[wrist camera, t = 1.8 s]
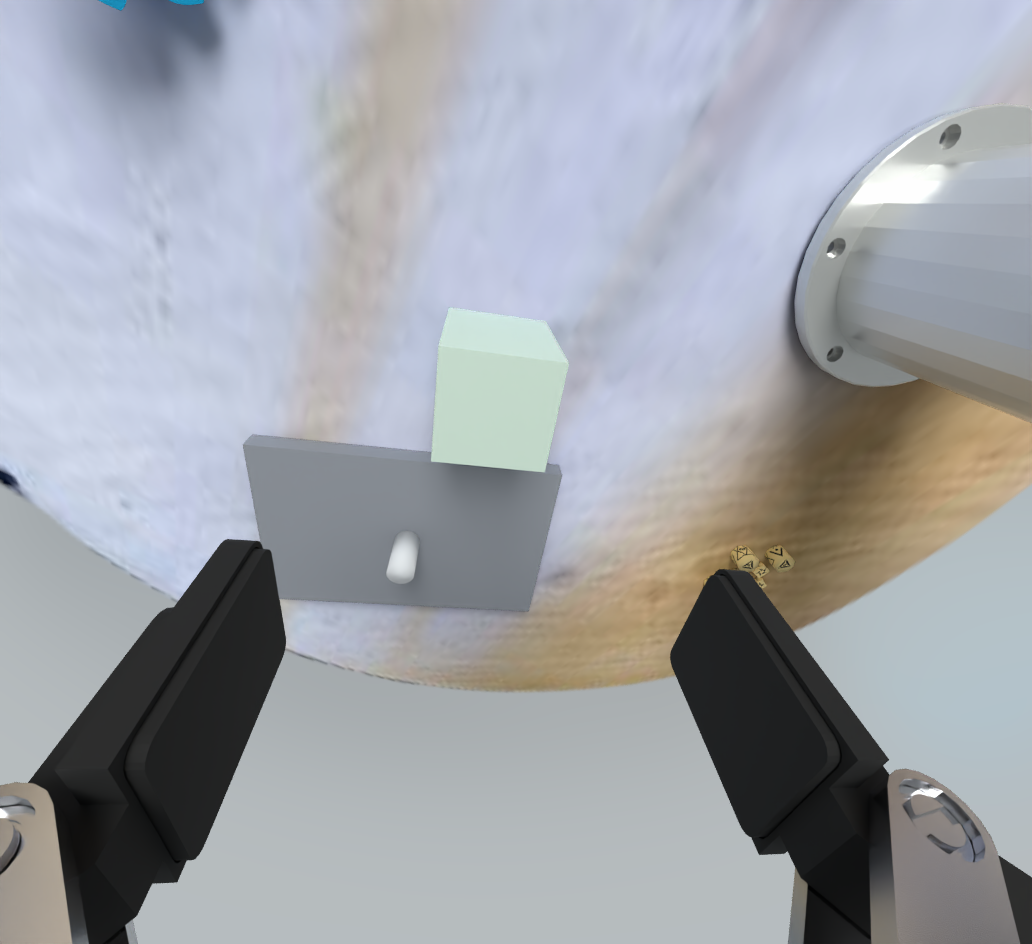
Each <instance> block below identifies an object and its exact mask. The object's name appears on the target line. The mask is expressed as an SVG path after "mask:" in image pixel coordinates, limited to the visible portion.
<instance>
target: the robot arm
mask: <svg viewBox="0 0 1032 944" xmlns="http://www.w3.org/2000/svg"><path fill="white" fill-rule="evenodd" d="M794 302H795V324H796V328H797V331H798V335H799V339H800V342H801V344H802V346H803V348H804V349H805V351H806V353H807V355H808V357H809V358H810V359H811V360H812V361H813V362H814V363H815V364H816V365H817V366H818V367H819V368H820V369H822V370H823V371H825V372H827V373H829V374H831V375H832V376H834V377H836V378H838V379H840V380H843V381H845V382H848V383H850V384H853V385H859V386H866V387H884V386H894V385H899V384H903V383H907V382H911V381H915V380H917V379H923V380H925V381H928V382H930V383H933V384H935V385H938V386H940V387H943V388H945V389H948V390H950V391H952V392H955V393H957V394H960V395H962V396H965V397H967V398H970V399H972V400H975V401H977V402H980V403H982V404H985V405H987V406H990V407H992V408H995V409H997V410H1000V411H1002V412H1005V413H1007V414H1010V415H1012V416H1015V417H1017V418H1020V419H1022V420H1024V421H1027V422H1029V423H1032V108H1031V107H1029V106H1025V105H1015V104H1006V103H999V104H992V105H985V106H978V107H972V108H967V109H963V110H960V111H956V112H952V113H948V114H945V115H941V116H939V117H937V118H935V119H933V120H931V121H928V122H926V123H924V124H922V125H920V126H918V127H916V128H914V129H912V130H911V131H909V132H908V133H906V134H905V135H903V136H902V137H900V138H899V139H897V140H896V141H894V142H893V143H891V144H890V145H888V146H887V147H886V148H884V149H883V150H882V151H881V152H880V153H879V154H878V155H877V156H875V157H874V158H873V159H872V160H871V161H870V162H869V163H868V164H867V165H865V166H864V167H863V168H862V169H861V170H860V171H859V172H858V173H857V174H856V176H855V177H854V178H853V179H852V180H851V181H850V183H849V184H848V185H847V186H846V187H845V188H844V190H843V191H842V192H841V193H840V194H839V195H838V197H837V198H836V200H835V201H834V203H833V204H832V206H831V207H830V209H829V210H828V212H827V213H826V215H825V216H824V218H823V219H822V221H821V222H820V224H819V226H818V228H817V230H816V232H815V234H814V236H813V238H812V240H811V243H810V245H809V247H808V249H807V251H806V254H805V257H804V260H803V263H802V266H801V270H800V273H799V276H798V281H797V288H796V294H795V301H794ZM285 646H286V636H285V630H284V624H283V618H282V612H281V606H280V600H279V594H278V588H277V582H276V576H275V570H274V564H273V558H272V553H271V551H270V550H269V549H263V547H262V544H261V543H260V542H259V541H248V540H232V539H227V540H224V541H223V542H222V543H221V544H220V545H219V547H218V548H217V550H216V551H215V552H214V554H213V555H212V556H211V558H210V559H209V560H208V562H207V563H206V564H205V566H204V567H203V569H202V570H201V571H200V573H199V574H198V575H197V577H196V578H195V579H194V581H193V582H192V583H191V585H190V586H189V588H188V589H187V590H186V592H185V593H184V594H183V596H182V597H181V598H180V600H179V601H178V602H177V604H176V605H175V607H173V608H166V609H165V610H163V611H161V612H160V613H159V614H158V615H157V616H156V617H155V618H154V619H153V620H152V622H151V623H150V624H149V625H148V627H147V628H146V629H145V631H144V632H143V633H142V635H141V636H140V637H139V639H138V640H137V641H136V643H135V644H134V645H133V646H132V648H131V649H130V650H129V652H128V653H127V654H126V655H125V657H124V658H123V660H122V661H121V662H120V663H119V665H118V666H117V667H116V669H115V670H114V671H113V673H112V674H111V675H110V676H109V678H108V679H107V680H106V682H105V683H104V684H103V685H102V687H101V688H100V690H99V691H98V692H97V693H96V695H95V696H94V697H93V699H92V700H91V701H90V702H89V704H88V705H87V706H86V708H85V709H84V710H83V712H82V713H81V714H80V716H79V717H78V718H77V720H76V721H75V722H74V723H73V725H72V726H71V727H70V729H69V730H68V731H67V733H66V734H65V735H64V737H63V738H62V739H61V740H60V742H59V743H58V744H57V746H56V747H55V748H54V749H53V751H52V752H51V753H50V755H49V756H48V758H47V759H46V760H45V761H44V763H43V764H42V765H41V766H40V768H39V769H38V770H37V772H36V773H35V774H34V776H33V777H32V778H31V780H30V781H29V782H28V783H18V782H14V783H10V784H5V785H0V944H138V942H137V937H136V933H135V928H134V923H133V919H134V918H135V917H136V916H137V915H138V912H139V910H140V908H141V906H142V904H143V902H144V900H145V898H146V895H147V893H148V891H149V889H150V887H151V885H152V883H174V882H178V879H179V877H180V875H181V872H182V870H183V868H184V865H185V863H186V861H187V860H194V859H196V857H197V856H198V855H199V854H200V852H201V850H202V849H203V847H204V844H205V842H206V840H207V838H208V835H209V833H210V830H211V828H212V826H213V823H214V821H215V818H216V816H217V813H218V811H219V809H220V806H221V804H222V802H223V799H224V797H225V794H226V792H227V790H228V787H229V785H230V782H231V780H232V778H233V775H234V773H235V770H236V768H237V766H238V763H239V761H240V758H241V756H242V753H243V751H244V749H245V746H246V744H247V742H248V739H249V737H250V734H251V732H252V730H253V727H254V725H255V722H256V720H257V718H258V715H259V713H260V710H261V708H262V706H263V703H264V701H265V698H266V696H267V694H268V691H269V689H270V687H271V684H272V681H273V679H274V677H275V675H276V672H277V669H278V667H279V665H280V663H281V660H282V658H283V655H284V651H285ZM670 660H671V665H672V668H673V670H674V672H675V675H676V677H677V679H678V682H679V684H680V686H681V689H682V691H683V693H684V696H685V698H686V700H687V702H688V705H689V707H690V710H691V712H692V714H693V716H694V719H695V721H696V724H697V726H698V728H699V730H700V733H701V735H702V738H703V740H704V742H705V744H706V747H707V749H708V752H709V754H710V756H711V758H712V761H713V763H714V765H715V768H716V770H717V773H718V775H719V777H720V780H721V782H722V784H723V787H724V789H725V791H726V793H727V796H728V798H729V800H730V803H731V805H732V807H733V810H734V812H735V814H736V817H737V819H738V821H739V823H740V825H741V828H742V829H743V831H744V832H745V833H746V834H747V835H748V836H749V837H752V840H753V842H754V844H755V846H756V849H757V851H758V853H759V855H767V854H784V853H786V852H787V851H788V853H789V855H790V857H791V859H792V861H793V863H794V865H795V877H794V887H793V897H792V907H791V918H790V928H789V939H788V944H1032V877H1030V876H1029V875H1027V874H1026V873H1024V872H1023V871H1021V870H1020V869H1018V868H1017V867H1015V866H1013V865H1012V864H1011V863H1009V862H1008V861H1006V860H1005V859H1003V858H1002V857H1000V856H999V855H998V853H997V850H996V847H995V845H994V842H993V840H992V838H991V836H990V834H989V833H988V831H987V830H986V828H985V827H984V825H983V824H982V822H981V821H980V819H979V818H978V817H977V816H976V815H975V814H974V813H973V811H972V810H971V809H970V808H969V807H968V806H967V805H966V804H965V803H964V802H963V801H962V800H961V799H960V798H959V797H957V796H956V795H955V794H954V793H953V792H952V791H951V790H949V789H948V788H947V787H945V786H944V785H942V784H940V783H939V782H938V781H936V780H935V779H933V778H931V777H929V776H927V775H924V774H922V773H920V772H917V771H913V770H909V769H899V770H895V771H894V772H892V773H891V774H890V775H889V774H888V772H887V771H886V769H885V768H884V767H883V765H884V764H885V763H886V762H887V761H888V760H889V759H888V758H887V756H886V755H885V754H884V752H883V751H882V750H881V748H880V747H879V746H878V744H877V743H876V742H875V740H874V739H873V738H872V736H871V735H870V734H869V732H868V731H867V730H866V728H865V727H864V725H863V724H862V723H861V721H860V720H859V719H858V718H857V716H856V715H855V713H854V712H853V711H852V710H851V708H850V707H849V705H848V704H847V703H846V701H845V700H844V699H843V697H842V696H841V695H840V693H839V692H838V691H837V689H836V688H835V687H834V686H833V684H832V683H831V681H830V680H829V679H828V677H827V676H826V675H825V673H824V672H823V671H822V669H821V668H820V667H819V665H818V664H817V663H816V661H815V660H814V659H813V658H812V656H811V655H810V653H809V652H808V651H807V649H806V648H805V647H804V645H803V644H802V643H801V642H800V640H799V639H798V637H797V636H796V634H795V633H794V632H793V630H792V629H791V628H790V626H789V625H788V624H787V622H786V621H785V620H784V618H783V617H782V616H781V614H780V613H779V612H778V610H777V609H776V608H775V606H774V605H773V604H772V602H771V601H770V600H769V598H768V597H767V596H766V594H765V593H764V592H763V590H762V589H761V588H760V586H759V585H758V584H757V582H756V581H755V580H754V578H753V577H752V576H751V575H750V574H749V573H748V572H746V571H743V570H726V569H719V570H718V571H716V573H715V574H714V575H712V576H710V577H709V578H708V580H707V582H706V584H705V585H704V587H703V589H702V591H701V593H700V595H699V597H698V599H697V601H696V603H695V605H694V607H693V609H692V611H691V613H690V615H689V617H688V619H687V621H686V622H685V624H684V626H683V628H682V630H681V632H680V634H679V636H678V638H677V640H676V642H675V644H674V646H673V648H672V650H671V654H670Z"/></svg>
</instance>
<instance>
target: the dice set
mask: <svg viewBox="0 0 1032 944" xmlns="http://www.w3.org/2000/svg"><path fill="white" fill-rule="evenodd" d="M765 557H766V558H767V560H768V561H769V562H770V563H771V564H772V566H773V567H774V568H775V569H776V570H777V571H778V572H786V571H788V570H789V569H791V568H793V566H794V564H795V560H794V559H793V558H792V557H791V556H790V555H789V554H788V553H787V551H786V550H785V549H784V548H783V547H782V546H773V547H771V548H770V549H768V550H767V551H766V554H765ZM731 559H732V560H733V561H734V563H735V564H736V566H737V567H738V568H737V569H732V570H743V571H746V572H753V573H754V574H755V575H756V576H757V577H758V578H755V579H754V580H755V581H756V582H757V584H758V585H759V586H760V588H761V589H762V588H765V587H767V586H766V584H765V582H764V580H763V579H762V576H764V575H765V574H767V573H768V572H770V571H769V569H768V568H767V567H766V566H765V565H764V564H763V563H762V562H761V563H759V560H758V558H757V557H756V556H755V555H754V553H753V552H752V551H751V549H750V548H748V547H747V546H745V545H744V546H738V547H736V548H735V549H734V550H733V551H731ZM709 577H710V576H709ZM709 577H708V578H709ZM708 578H707V579H705V580H704V585H705V584H706V582H707V580H708Z"/></svg>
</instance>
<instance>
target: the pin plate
mask: <svg viewBox="0 0 1032 944" xmlns="http://www.w3.org/2000/svg"><path fill="white" fill-rule="evenodd" d="M243 449H244V454H245V460H246V465H247V470H248V476H249V481H250V487H251V492H252V498H253V503H254V509H255V514H256V520H257V525H258V531H259V536H260V542H261V544H262V547H263V549H269V550H270V551H271V553H272V558H273V564H274V570H275V576H276V582H277V588H278V594H279V599H292V600H312V601H332V602H352V603H372V604H391V605H411V606H431V607H451V608H470V609H490V610H510V611H529V608H530V604H531V600H532V596H533V591H534V587H535V583H536V579H537V575H538V571H539V567H540V563H541V559H542V555H543V551H544V547H545V543H546V539H547V534H548V530H549V526H550V522H551V518H552V514H553V510H554V506H555V502H556V498H557V494H558V490H559V486H560V482H561V477H562V473H561V470H560V467H559V465H553V464H547V465H546V469H545V472H535V471H524V470H514V469H504V468H493V467H483V466H473V465H462V464H452V463H442V462H431V453H432V452H422V451H412V450H402V449H392V448H382V447H372V446H362V445H352V444H342V443H332V442H321V441H311V440H301V439H291V438H281V437H271V436H261V435H251V436H250V438H249V439H248V440H247V441H246V442H245V443H244V444H243Z"/></svg>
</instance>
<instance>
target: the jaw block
mask: <svg viewBox="0 0 1032 944" xmlns="http://www.w3.org/2000/svg"><path fill="white" fill-rule="evenodd" d="M568 365H569V362H568V361H567V359H566V357H565V355H564V353H563V352H562V350H561V348H560V346H559V344H558V343H557V341H556V339H555V337H554V335H553V334H552V332H551V330H550V328H549V326H548V325H547V323H546V321H541V320H534V319H527V318H520V317H513V316H506V315H500V314H493V313H486V312H479V311H472V310H465V309H459V308H452V307H449V310H448V313H447V317H446V321H445V324H444V328H443V331H442V335H441V339H440V342H439V346H438V362H437V377H436V392H435V407H434V423H433V438H432V453H431V462H442V463H452V464H462V465H473V466H483V467H493V468H504V469H514V470H524V471H535V472H545V469H546V465H547V460H548V455H549V451H550V446H551V442H552V437H553V433H554V428H555V424H556V419H557V415H558V410H559V406H560V401H561V397H562V392H563V388H564V383H565V379H566V374H567V370H568Z"/></svg>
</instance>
